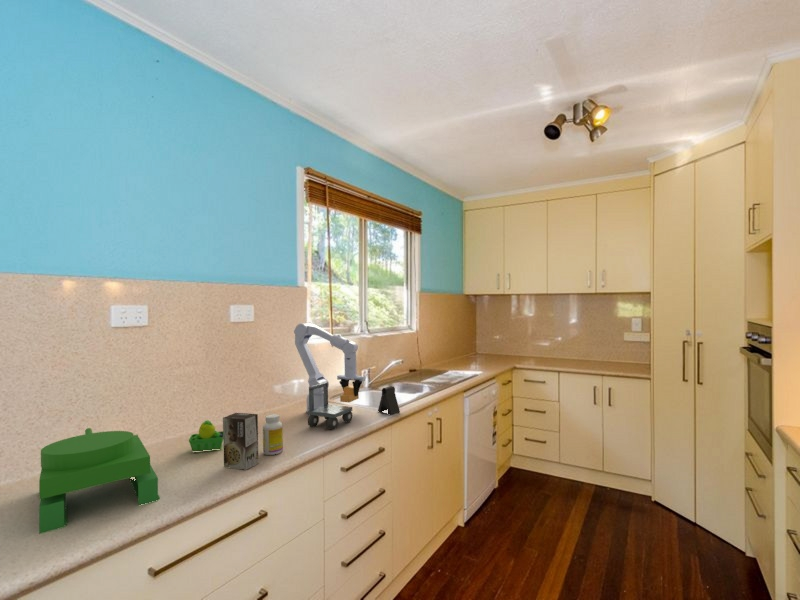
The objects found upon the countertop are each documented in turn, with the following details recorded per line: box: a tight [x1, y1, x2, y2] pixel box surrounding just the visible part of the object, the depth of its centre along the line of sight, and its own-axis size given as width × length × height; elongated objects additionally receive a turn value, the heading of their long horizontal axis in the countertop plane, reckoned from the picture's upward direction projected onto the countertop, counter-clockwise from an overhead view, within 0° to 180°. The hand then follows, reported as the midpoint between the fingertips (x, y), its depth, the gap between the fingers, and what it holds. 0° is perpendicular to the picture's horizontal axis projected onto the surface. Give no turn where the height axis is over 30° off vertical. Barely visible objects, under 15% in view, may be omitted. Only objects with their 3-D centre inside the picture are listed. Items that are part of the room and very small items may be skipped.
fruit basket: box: [188, 420, 223, 452], centre depth 145 cm, size 11×9×11 cm
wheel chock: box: [339, 384, 360, 403], centre depth 191 cm, size 5×8×6 cm, turn 153°
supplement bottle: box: [262, 413, 284, 456], centre depth 142 cm, size 7×7×13 cm
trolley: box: [307, 381, 353, 418], centre depth 175 cm, size 14×13×12 cm
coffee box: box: [222, 412, 260, 471], centre depth 131 cm, size 9×6×16 cm
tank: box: [38, 427, 161, 535], centre depth 113 cm, size 24×35×16 cm
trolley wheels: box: [307, 411, 353, 431], centre depth 174 cm, size 12×16×5 cm
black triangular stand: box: [377, 386, 401, 416], centre depth 192 cm, size 9×6×12 cm, turn 47°
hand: (351, 395), depth 192 cm, fingers closed on wheel chock, 5 cm apart
